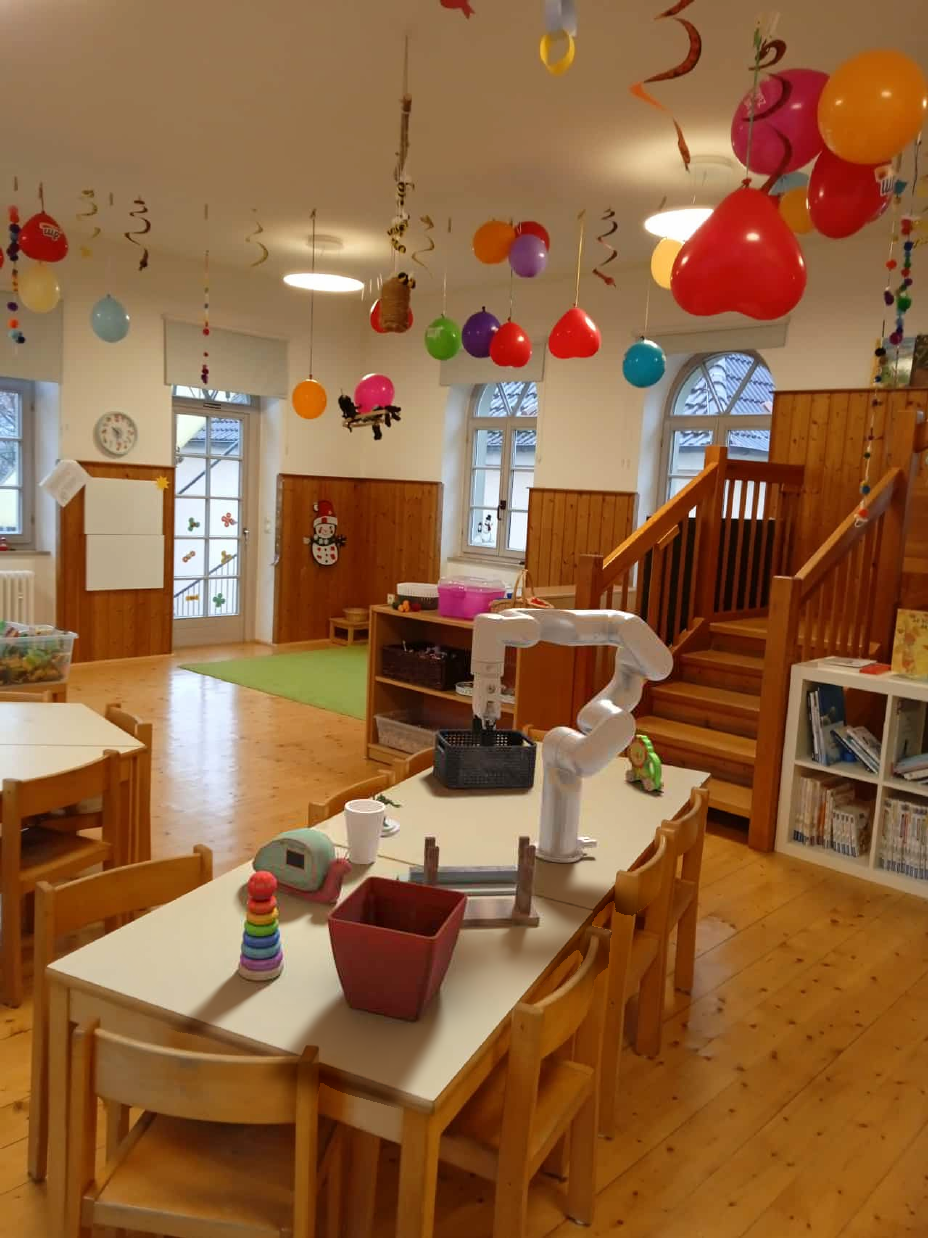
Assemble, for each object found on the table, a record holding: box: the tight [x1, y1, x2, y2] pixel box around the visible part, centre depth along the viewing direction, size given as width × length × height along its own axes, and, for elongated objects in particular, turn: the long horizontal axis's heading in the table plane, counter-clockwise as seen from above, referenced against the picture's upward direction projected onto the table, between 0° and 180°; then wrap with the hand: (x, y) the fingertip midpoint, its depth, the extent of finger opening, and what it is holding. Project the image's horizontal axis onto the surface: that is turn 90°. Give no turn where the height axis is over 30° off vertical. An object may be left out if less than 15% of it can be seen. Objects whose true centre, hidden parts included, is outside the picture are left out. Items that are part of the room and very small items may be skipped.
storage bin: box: [432, 728, 538, 790], centre depth 287 cm, size 29×19×13 cm
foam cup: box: [344, 798, 387, 865], centre depth 219 cm, size 10×9×13 cm
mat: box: [396, 873, 516, 896], centre depth 209 cm, size 28×10×1 cm, turn 101°
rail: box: [408, 865, 518, 885], centre depth 209 cm, size 24×3×3 cm, turn 100°
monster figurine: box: [371, 789, 403, 837], centre depth 240 cm, size 12×12×10 cm
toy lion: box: [625, 734, 665, 792], centre depth 291 cm, size 16×5×15 cm, turn 25°
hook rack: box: [423, 835, 541, 927], centre depth 194 cm, size 25×9×16 cm, turn 101°
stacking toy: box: [237, 871, 285, 982], centre depth 166 cm, size 8×8×19 cm
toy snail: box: [251, 827, 352, 905], centre depth 200 cm, size 25×8×14 cm, turn 58°
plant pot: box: [327, 875, 469, 1022], centre depth 161 cm, size 19×19×17 cm
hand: (482, 740), depth 217 cm, fingers open, 9 cm apart
